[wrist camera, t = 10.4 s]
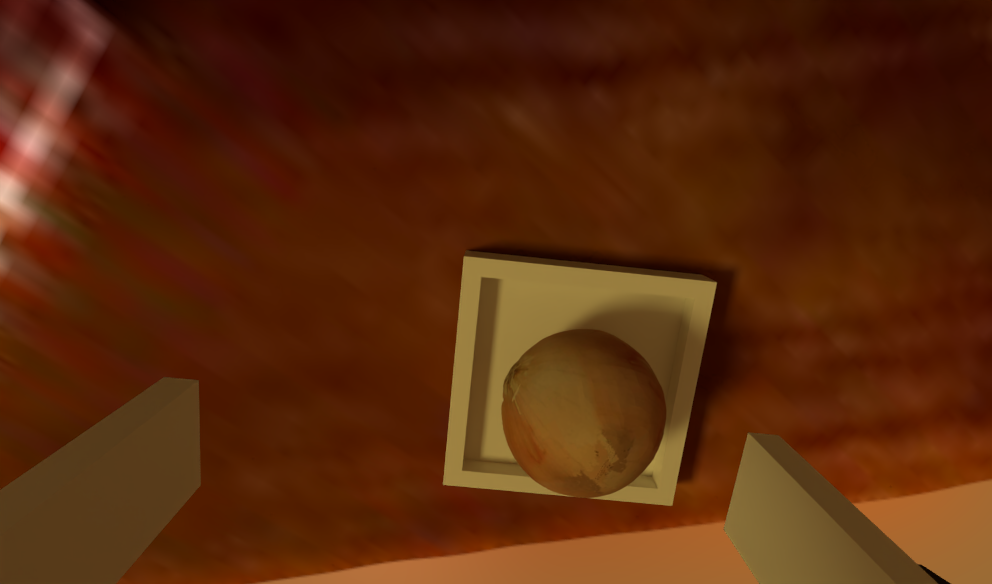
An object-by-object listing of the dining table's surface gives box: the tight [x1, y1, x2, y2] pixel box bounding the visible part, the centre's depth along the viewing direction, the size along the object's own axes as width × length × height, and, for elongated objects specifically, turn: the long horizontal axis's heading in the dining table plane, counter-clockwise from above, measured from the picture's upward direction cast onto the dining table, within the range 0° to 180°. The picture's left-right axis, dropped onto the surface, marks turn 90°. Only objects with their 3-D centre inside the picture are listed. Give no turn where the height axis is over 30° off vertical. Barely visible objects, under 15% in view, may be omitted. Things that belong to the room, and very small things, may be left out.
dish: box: [443, 250, 717, 506], centre depth 36 cm, size 16×16×2 cm
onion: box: [501, 329, 666, 498], centre depth 32 cm, size 10×10×10 cm
